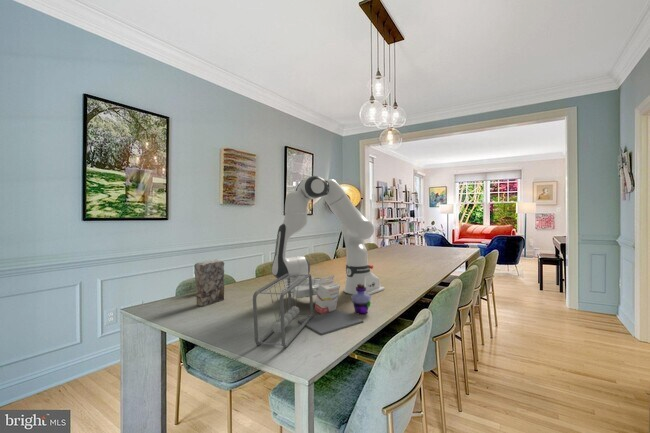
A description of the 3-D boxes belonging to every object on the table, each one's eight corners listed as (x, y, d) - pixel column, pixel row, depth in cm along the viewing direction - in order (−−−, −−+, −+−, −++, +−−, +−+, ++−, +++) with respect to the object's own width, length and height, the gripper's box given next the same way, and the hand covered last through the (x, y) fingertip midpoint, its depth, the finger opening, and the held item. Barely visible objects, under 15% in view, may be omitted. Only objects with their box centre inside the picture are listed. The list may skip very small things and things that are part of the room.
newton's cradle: (284, 350, 96) (282, 294, 95) (254, 347, 99) (251, 293, 98) (313, 316, 125) (311, 272, 124) (289, 314, 128) (287, 272, 127)
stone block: (204, 307, 142) (203, 264, 141) (194, 305, 145) (193, 263, 144) (226, 299, 153) (225, 259, 153) (216, 298, 156) (215, 258, 156)
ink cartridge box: (322, 315, 129) (327, 282, 126) (314, 309, 132) (319, 277, 129) (336, 310, 134) (341, 278, 131) (328, 305, 138) (333, 274, 135)
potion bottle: (370, 316, 126) (370, 287, 125) (349, 315, 128) (349, 286, 127) (372, 309, 134) (371, 282, 134) (352, 308, 136) (352, 281, 136)
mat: (338, 311, 132) (338, 310, 132) (363, 322, 119) (363, 320, 119) (298, 321, 121) (298, 320, 121) (321, 335, 108) (321, 333, 108)
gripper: (286, 283, 139) (302, 289, 128) (323, 277, 151) (341, 282, 140) (287, 297, 139) (303, 304, 128) (324, 290, 151) (341, 296, 140)
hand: (323, 293), depth 134 cm, fingers closed
